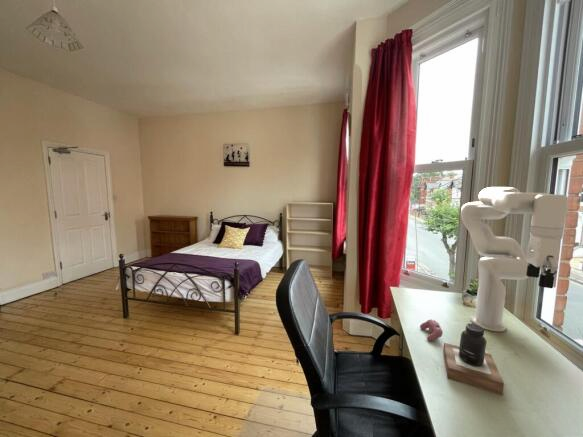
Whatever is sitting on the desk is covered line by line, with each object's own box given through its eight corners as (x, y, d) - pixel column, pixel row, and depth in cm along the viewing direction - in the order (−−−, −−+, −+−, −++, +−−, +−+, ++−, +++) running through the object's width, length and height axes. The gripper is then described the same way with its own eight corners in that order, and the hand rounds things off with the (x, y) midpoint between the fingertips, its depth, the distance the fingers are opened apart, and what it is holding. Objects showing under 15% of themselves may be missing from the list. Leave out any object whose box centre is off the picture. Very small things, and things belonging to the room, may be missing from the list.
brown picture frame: (443, 352, 91) (444, 342, 91) (489, 364, 85) (491, 353, 84) (447, 378, 79) (448, 367, 78) (502, 395, 73) (504, 382, 72)
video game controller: (437, 346, 97) (447, 332, 96) (426, 340, 97) (436, 326, 96) (428, 331, 107) (436, 319, 105) (418, 326, 107) (427, 313, 106)
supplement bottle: (462, 364, 79) (465, 330, 78) (456, 351, 86) (459, 319, 84) (487, 369, 77) (491, 335, 75) (479, 355, 83) (483, 323, 82)
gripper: (520, 227, 88) (514, 271, 91) (542, 236, 73) (534, 289, 76) (548, 228, 85) (541, 275, 87) (578, 238, 70) (568, 294, 72)
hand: (538, 281), depth 82 cm, fingers open, 9 cm apart
